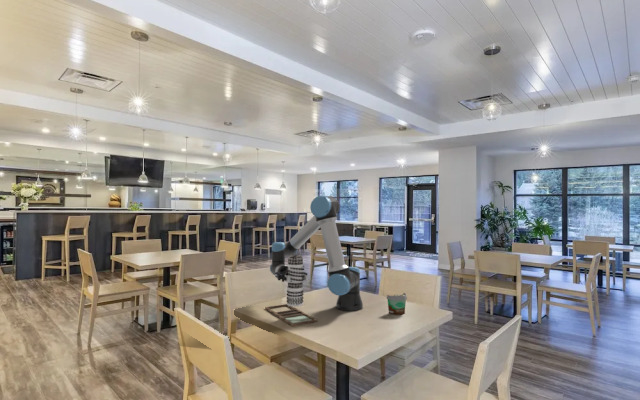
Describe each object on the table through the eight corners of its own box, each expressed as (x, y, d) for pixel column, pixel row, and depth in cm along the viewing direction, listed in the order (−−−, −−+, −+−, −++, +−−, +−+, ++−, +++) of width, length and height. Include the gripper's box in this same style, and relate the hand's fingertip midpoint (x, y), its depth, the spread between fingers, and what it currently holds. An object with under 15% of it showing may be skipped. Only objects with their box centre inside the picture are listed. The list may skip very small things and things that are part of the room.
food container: (393, 316, 185) (393, 297, 185) (386, 313, 190) (386, 295, 190) (412, 313, 190) (412, 295, 191) (404, 310, 196) (404, 292, 196)
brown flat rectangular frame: (265, 308, 198) (265, 307, 198) (288, 305, 205) (288, 303, 205) (291, 326, 169) (291, 324, 169) (317, 321, 176) (317, 319, 176)
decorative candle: (307, 304, 181) (308, 255, 181) (294, 307, 174) (295, 256, 175) (295, 301, 187) (296, 253, 188) (282, 304, 180) (282, 255, 181)
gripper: (301, 277, 201) (318, 284, 181) (264, 280, 192) (277, 288, 172) (301, 264, 202) (318, 270, 181) (265, 266, 193) (278, 273, 172)
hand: (298, 279), depth 177 cm, fingers closed on decorative candle, 9 cm apart
